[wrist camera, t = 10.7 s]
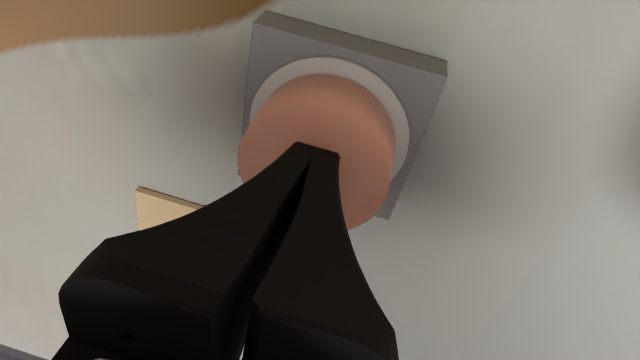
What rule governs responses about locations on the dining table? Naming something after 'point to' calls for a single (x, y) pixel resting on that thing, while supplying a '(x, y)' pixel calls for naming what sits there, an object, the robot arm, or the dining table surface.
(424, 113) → the button base
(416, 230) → the dining table surface
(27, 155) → the dining table surface
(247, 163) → the button
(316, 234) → the robot arm
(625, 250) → the dining table surface
